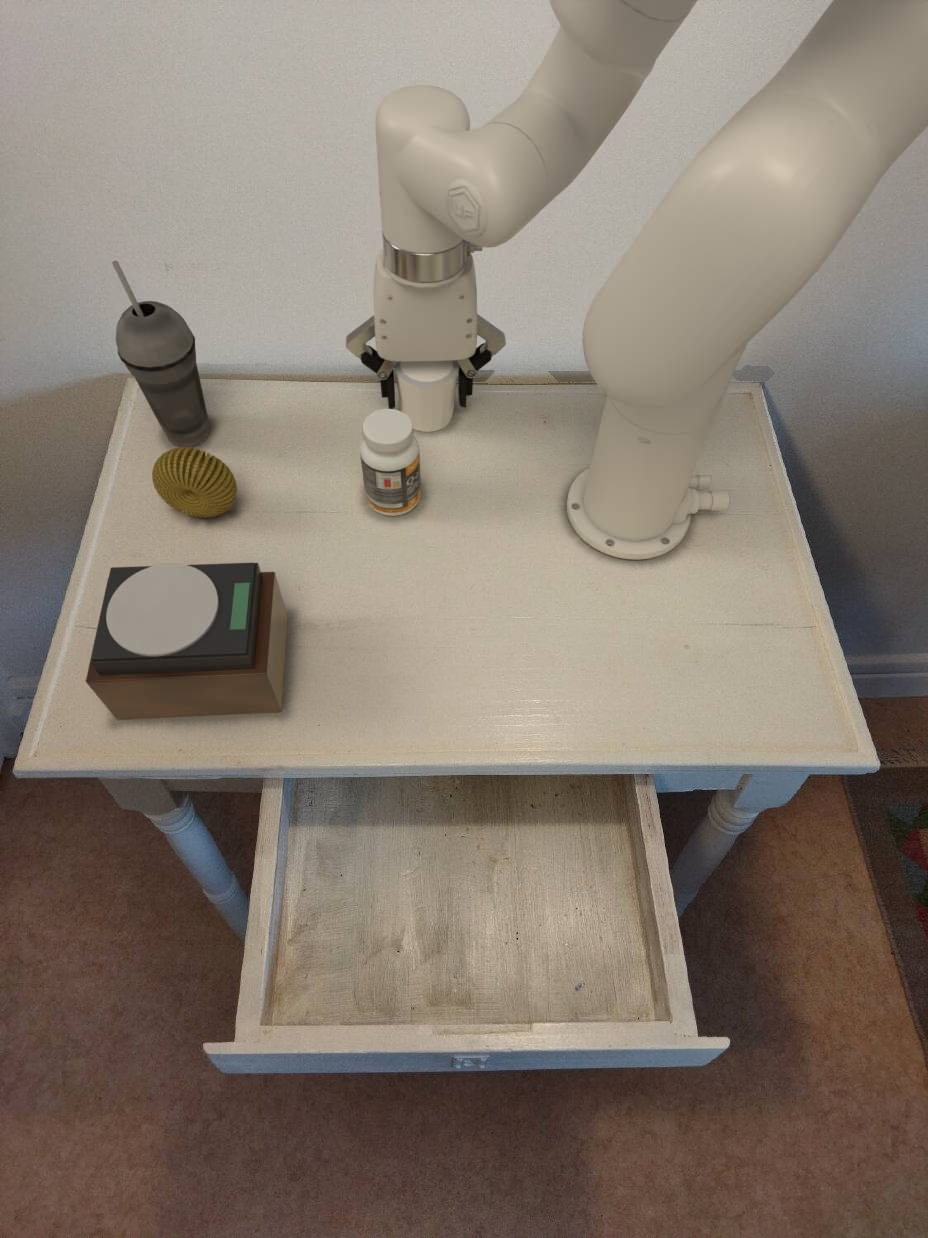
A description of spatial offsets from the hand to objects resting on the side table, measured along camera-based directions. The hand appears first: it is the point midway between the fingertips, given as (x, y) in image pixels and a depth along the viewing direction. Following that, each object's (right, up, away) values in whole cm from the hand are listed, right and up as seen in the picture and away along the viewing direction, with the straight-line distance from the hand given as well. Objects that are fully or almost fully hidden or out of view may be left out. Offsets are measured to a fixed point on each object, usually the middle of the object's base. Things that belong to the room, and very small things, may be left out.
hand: (426, 398), depth 86 cm
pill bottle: (-3, -12, -5) cm, 13 cm away
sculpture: (-22, -13, -6) cm, 27 cm away
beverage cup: (-26, -4, 0) cm, 26 cm away
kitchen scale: (-19, -25, -22) cm, 38 cm away
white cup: (0, -1, +2) cm, 2 cm away
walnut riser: (-19, -28, -16) cm, 38 cm away
